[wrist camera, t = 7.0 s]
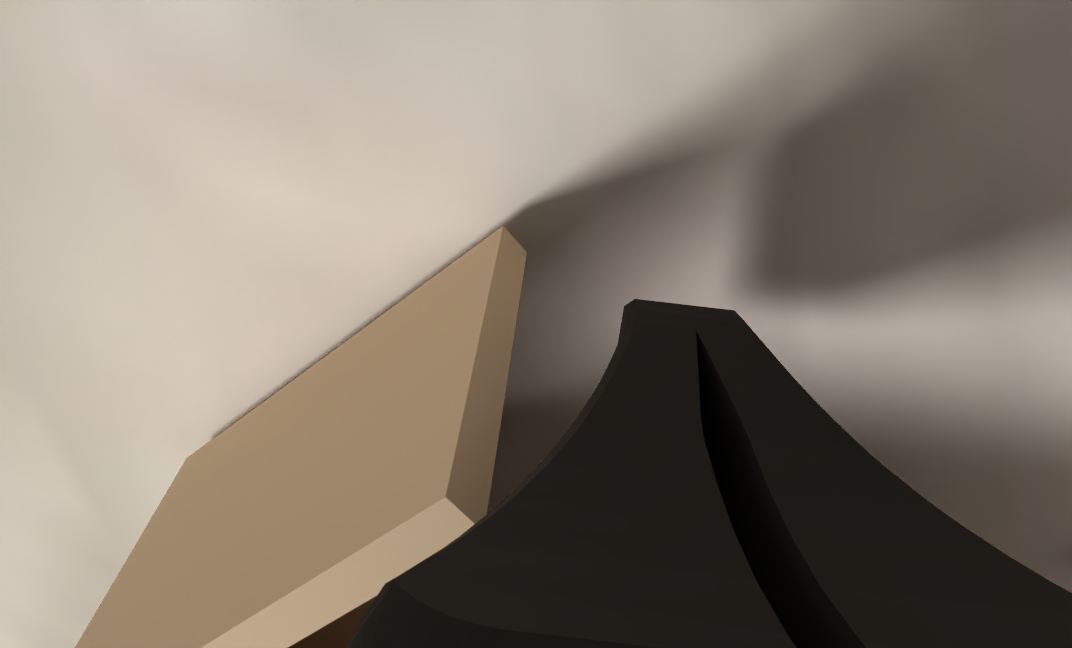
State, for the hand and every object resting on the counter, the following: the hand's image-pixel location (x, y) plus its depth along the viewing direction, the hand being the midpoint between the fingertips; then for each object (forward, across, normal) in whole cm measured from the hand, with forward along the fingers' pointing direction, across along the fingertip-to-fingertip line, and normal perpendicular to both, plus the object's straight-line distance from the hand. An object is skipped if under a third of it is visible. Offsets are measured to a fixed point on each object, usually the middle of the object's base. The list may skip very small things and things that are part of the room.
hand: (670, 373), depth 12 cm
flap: (+2, +4, +2) cm, 5 cm away
